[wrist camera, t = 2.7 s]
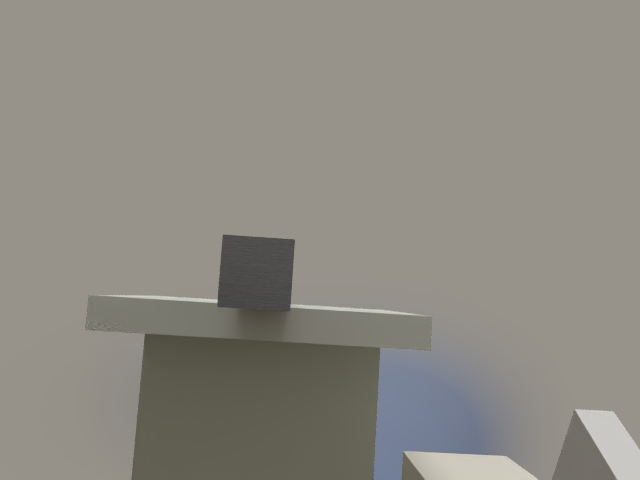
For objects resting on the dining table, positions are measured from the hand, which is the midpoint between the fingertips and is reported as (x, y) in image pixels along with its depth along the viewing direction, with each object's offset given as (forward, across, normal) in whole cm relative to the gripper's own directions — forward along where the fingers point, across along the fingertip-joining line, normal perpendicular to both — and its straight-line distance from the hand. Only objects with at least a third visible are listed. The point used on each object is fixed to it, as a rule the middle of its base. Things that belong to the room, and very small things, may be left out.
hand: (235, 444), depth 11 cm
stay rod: (+23, -1, -11) cm, 26 cm away
